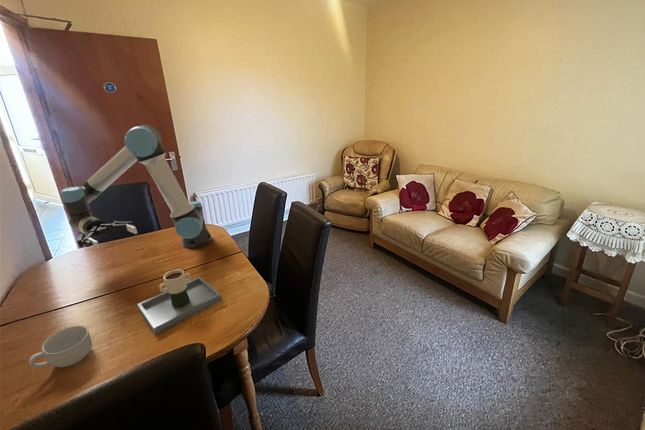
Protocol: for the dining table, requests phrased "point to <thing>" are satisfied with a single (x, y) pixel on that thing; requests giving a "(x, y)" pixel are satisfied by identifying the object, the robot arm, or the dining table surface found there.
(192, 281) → the tray
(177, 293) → the character mug
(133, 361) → the dining table surface
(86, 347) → the teacup
